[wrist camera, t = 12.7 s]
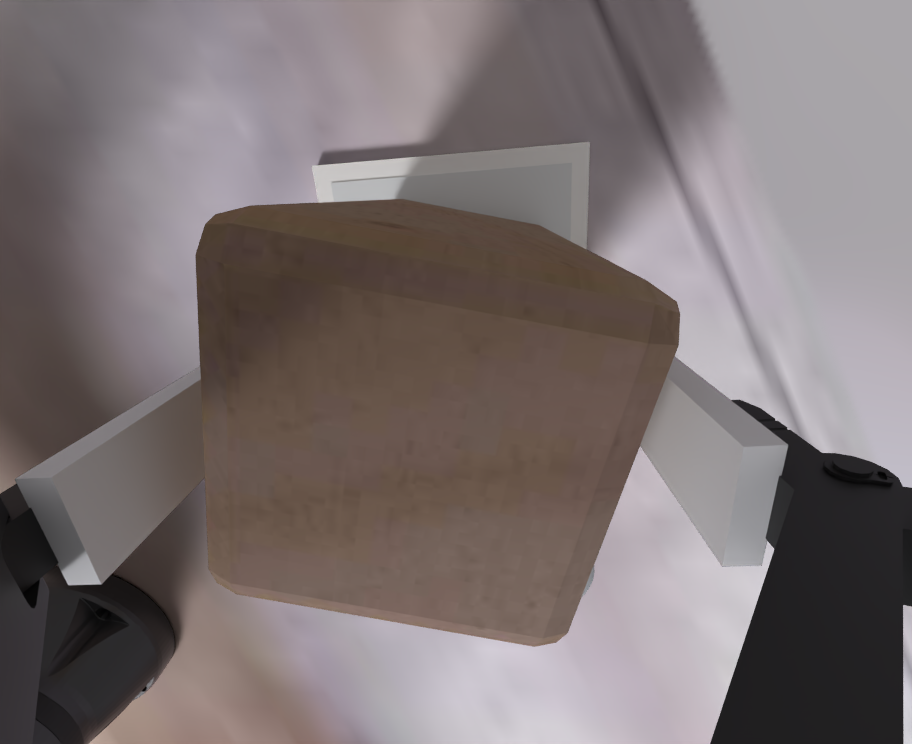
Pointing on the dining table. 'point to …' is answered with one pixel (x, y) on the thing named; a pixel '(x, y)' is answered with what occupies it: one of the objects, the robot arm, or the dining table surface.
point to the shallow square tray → (477, 184)
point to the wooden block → (419, 410)
